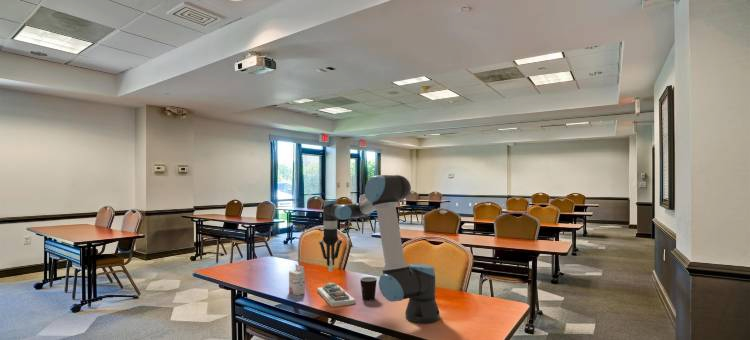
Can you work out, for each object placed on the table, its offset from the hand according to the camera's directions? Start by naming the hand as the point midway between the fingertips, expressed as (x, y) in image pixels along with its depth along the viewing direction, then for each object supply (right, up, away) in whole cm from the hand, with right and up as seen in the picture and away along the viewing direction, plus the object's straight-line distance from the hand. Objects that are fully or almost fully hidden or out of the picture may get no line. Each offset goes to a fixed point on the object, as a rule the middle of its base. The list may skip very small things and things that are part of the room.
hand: (330, 271), depth 208 cm
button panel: (+3, -12, -8) cm, 14 cm away
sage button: (0, -8, 0) cm, 8 cm away
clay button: (+7, -8, -15) cm, 18 cm away
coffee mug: (+21, -12, -9) cm, 26 cm away
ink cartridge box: (-18, -12, 0) cm, 22 cm away
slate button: (+3, -8, -8) cm, 12 cm away
